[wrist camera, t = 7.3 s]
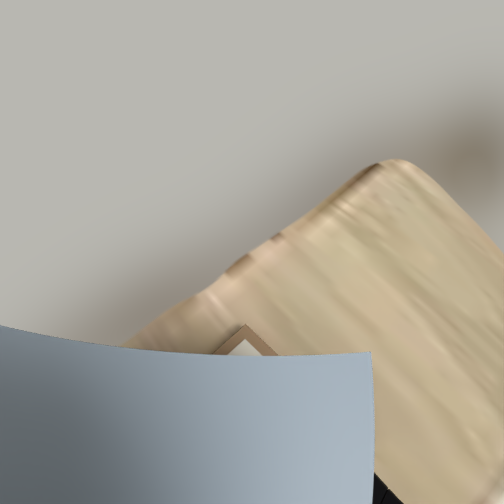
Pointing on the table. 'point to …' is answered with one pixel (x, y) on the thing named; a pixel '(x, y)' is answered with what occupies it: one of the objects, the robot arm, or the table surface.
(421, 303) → the table surface
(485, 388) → the table surface
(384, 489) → the robot arm
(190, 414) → the carton
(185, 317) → the table surface
